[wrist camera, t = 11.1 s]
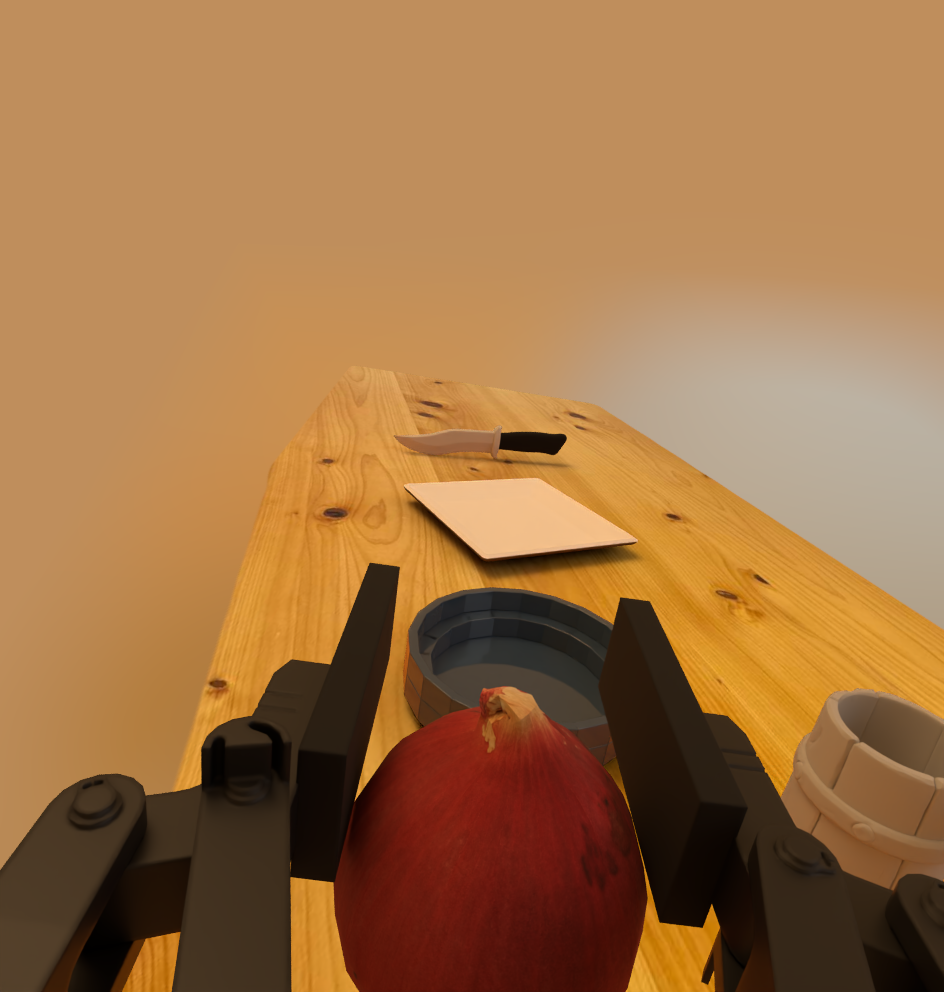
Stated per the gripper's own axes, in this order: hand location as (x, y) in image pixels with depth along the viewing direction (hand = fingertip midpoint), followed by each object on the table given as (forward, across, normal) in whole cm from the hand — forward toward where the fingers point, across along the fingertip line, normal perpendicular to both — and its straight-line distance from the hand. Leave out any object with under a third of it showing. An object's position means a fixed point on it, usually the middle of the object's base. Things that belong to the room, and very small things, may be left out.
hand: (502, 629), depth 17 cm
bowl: (+21, +4, -18) cm, 28 cm away
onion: (-5, 0, -6) cm, 8 cm away
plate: (+50, +5, -18) cm, 54 cm away
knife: (+74, +1, -18) cm, 77 cm away
